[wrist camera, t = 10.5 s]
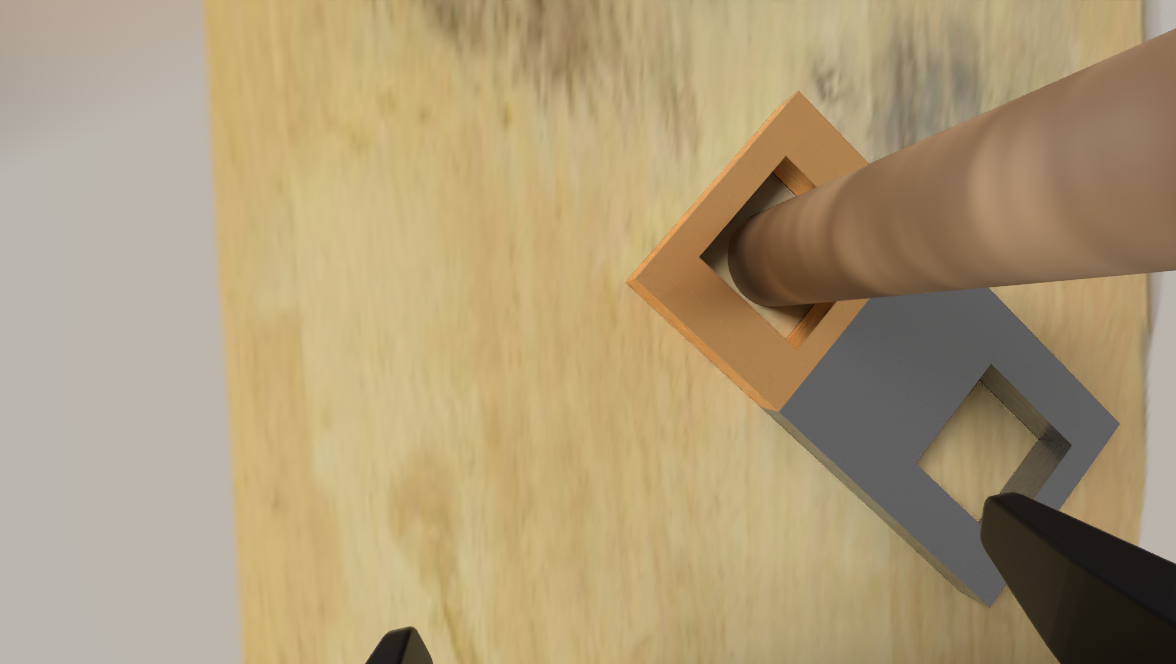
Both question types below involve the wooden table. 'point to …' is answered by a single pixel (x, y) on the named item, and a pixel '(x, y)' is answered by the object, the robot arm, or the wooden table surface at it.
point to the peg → (990, 198)
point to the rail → (874, 362)
